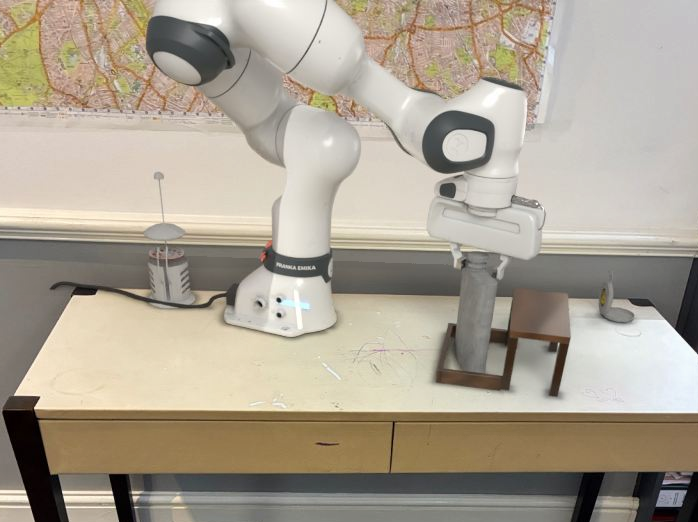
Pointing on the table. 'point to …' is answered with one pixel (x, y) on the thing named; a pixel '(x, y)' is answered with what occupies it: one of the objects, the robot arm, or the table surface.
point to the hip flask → (475, 313)
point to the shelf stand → (524, 322)
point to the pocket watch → (606, 302)
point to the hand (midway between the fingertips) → (477, 272)
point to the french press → (168, 264)
